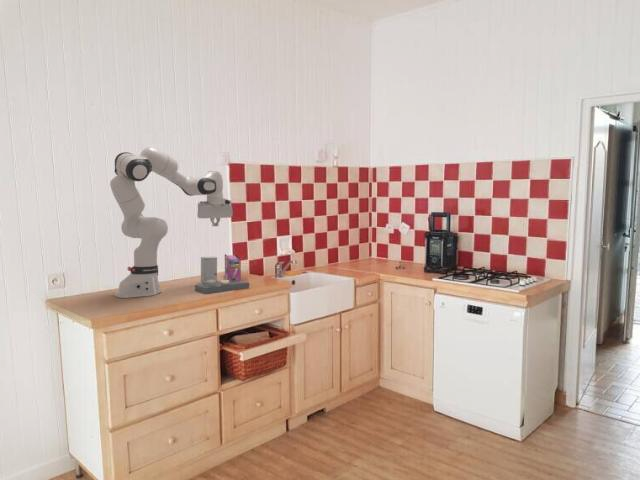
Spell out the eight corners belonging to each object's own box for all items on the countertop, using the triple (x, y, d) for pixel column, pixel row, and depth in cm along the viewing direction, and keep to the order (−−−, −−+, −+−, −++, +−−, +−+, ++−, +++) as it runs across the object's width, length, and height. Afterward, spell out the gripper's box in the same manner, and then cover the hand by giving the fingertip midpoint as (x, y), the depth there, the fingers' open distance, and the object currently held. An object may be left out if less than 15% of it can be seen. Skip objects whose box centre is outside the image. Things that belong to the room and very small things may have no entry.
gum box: (224, 275, 310) (223, 254, 308) (236, 275, 312) (236, 253, 311) (227, 282, 287) (227, 258, 285) (241, 281, 289) (240, 258, 288)
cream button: (223, 284, 259) (223, 281, 259) (219, 283, 262) (219, 280, 262) (230, 284, 262) (230, 280, 261) (226, 282, 265) (226, 279, 265)
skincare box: (203, 283, 281) (203, 257, 280) (200, 281, 286) (200, 256, 285) (217, 282, 285) (217, 256, 284) (214, 280, 290) (214, 255, 289)
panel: (205, 294, 251) (205, 288, 251) (194, 290, 260) (194, 284, 260) (248, 287, 268) (248, 282, 268) (237, 284, 277) (237, 279, 277)
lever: (231, 279, 271) (238, 263, 273) (229, 279, 273) (235, 263, 275) (235, 281, 273) (241, 265, 274) (233, 280, 274) (239, 264, 276)
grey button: (209, 284, 253) (209, 281, 253) (205, 283, 257) (205, 280, 257) (217, 283, 256) (217, 280, 256) (213, 282, 260) (213, 279, 259)
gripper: (200, 201, 262) (200, 227, 263) (233, 201, 275) (234, 225, 277) (194, 201, 267) (195, 226, 268) (228, 201, 280) (228, 225, 281)
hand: (215, 226), depth 272 cm, fingers closed
